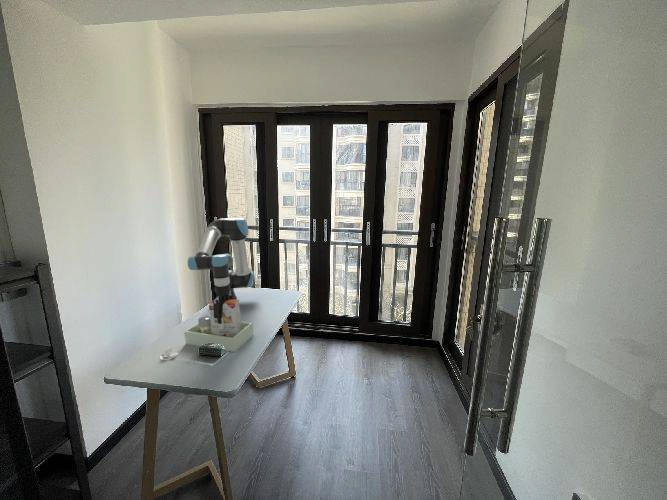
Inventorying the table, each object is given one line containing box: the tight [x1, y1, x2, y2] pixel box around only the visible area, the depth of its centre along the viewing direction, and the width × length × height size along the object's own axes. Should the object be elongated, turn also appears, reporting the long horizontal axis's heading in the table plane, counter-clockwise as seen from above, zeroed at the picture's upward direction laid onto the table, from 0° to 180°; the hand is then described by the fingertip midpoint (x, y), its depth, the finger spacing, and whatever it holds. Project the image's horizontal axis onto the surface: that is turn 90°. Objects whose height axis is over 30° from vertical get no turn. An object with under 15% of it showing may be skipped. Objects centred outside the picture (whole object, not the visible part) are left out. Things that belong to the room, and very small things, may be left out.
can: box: [197, 315, 212, 335], centre depth 152 cm, size 7×7×11 cm
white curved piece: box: [159, 346, 179, 361], centre depth 136 cm, size 9×8×4 cm
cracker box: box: [208, 299, 242, 338], centre depth 147 cm, size 14×6×21 cm, turn 89°
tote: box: [183, 321, 254, 353], centre depth 150 cm, size 18×30×8 cm, turn 74°
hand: (226, 325), depth 148 cm, fingers closed on cracker box, 7 cm apart
